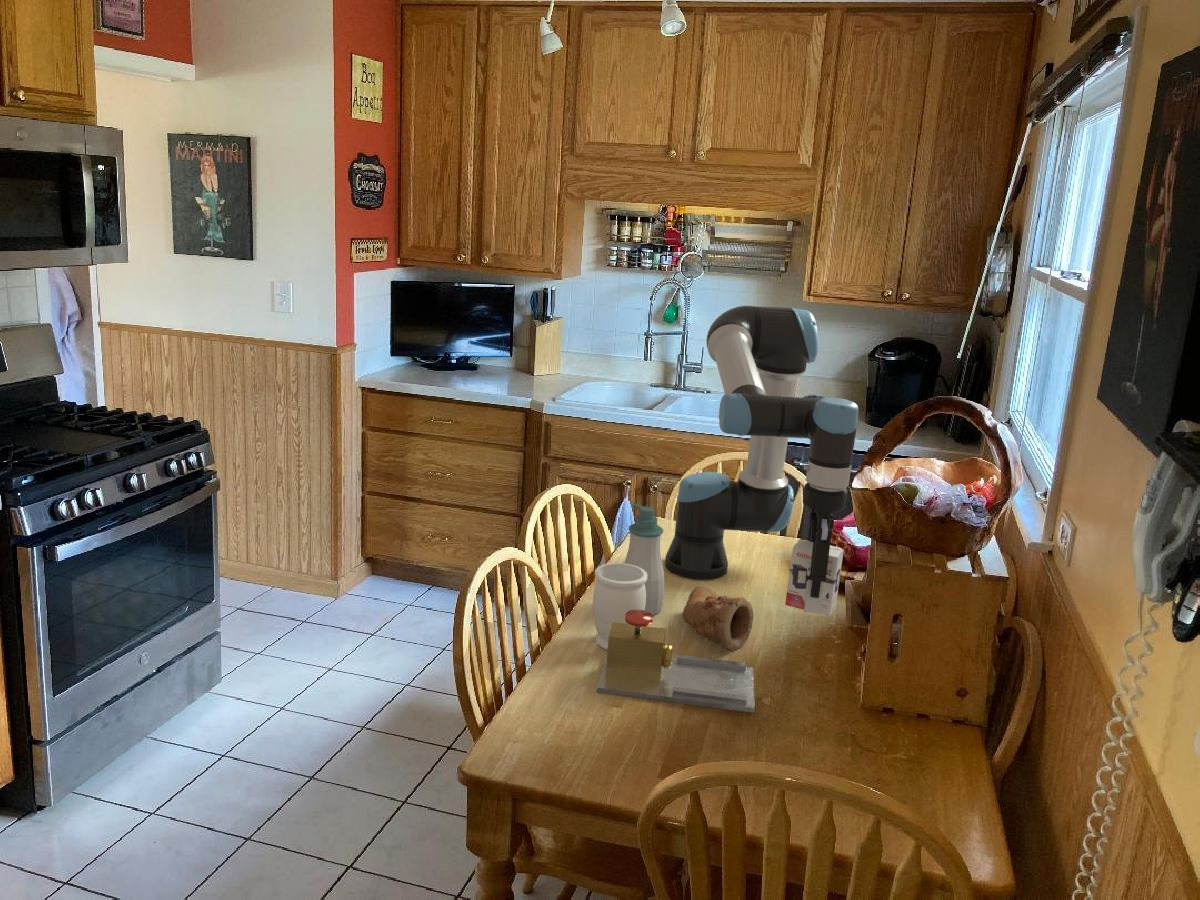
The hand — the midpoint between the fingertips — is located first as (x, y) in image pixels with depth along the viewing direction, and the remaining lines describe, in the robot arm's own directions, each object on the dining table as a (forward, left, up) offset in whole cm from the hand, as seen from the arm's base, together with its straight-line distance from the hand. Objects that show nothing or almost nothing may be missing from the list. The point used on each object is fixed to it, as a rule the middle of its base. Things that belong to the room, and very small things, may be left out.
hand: (810, 603), depth 174 cm
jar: (-6, -36, -16) cm, 40 cm away
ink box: (0, 0, -1) cm, 1 cm away
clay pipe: (-15, -16, -16) cm, 27 cm away
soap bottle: (-23, -33, -16) cm, 43 cm away
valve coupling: (+7, -23, -15) cm, 29 cm away
